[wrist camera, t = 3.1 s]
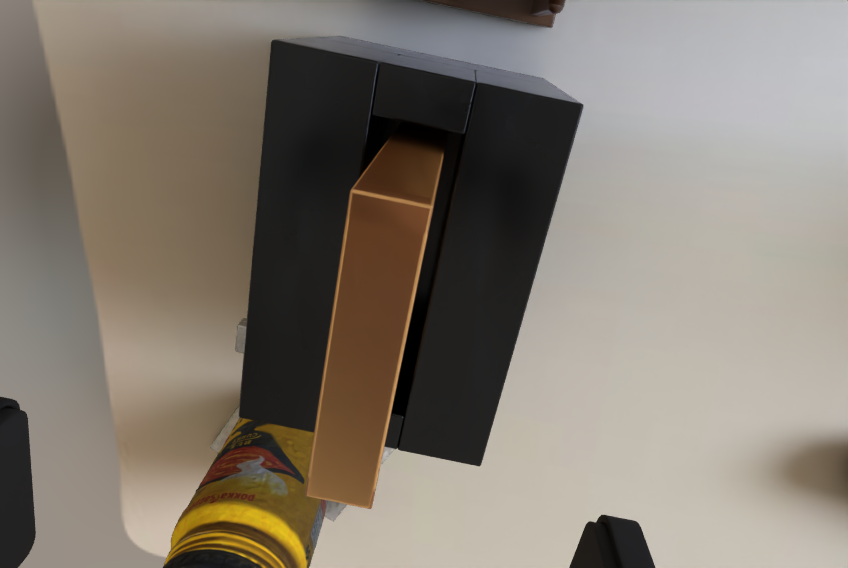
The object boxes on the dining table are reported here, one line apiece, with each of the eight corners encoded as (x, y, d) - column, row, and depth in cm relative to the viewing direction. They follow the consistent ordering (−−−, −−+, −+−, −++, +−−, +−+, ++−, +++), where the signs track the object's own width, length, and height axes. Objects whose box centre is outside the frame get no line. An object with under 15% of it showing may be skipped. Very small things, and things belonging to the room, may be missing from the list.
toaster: (318, 31, 26) (237, 31, 17) (544, 78, 26) (584, 104, 17) (287, 300, 31) (211, 412, 22) (477, 339, 32) (480, 467, 22)
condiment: (273, 356, 33) (173, 523, 22) (403, 437, 34) (372, 632, 23) (210, 445, 35) (93, 634, 24) (334, 517, 37) (277, 727, 26)
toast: (402, 119, 23) (349, 188, 13) (449, 129, 23) (433, 206, 13) (367, 317, 26) (304, 496, 16) (408, 326, 26) (371, 510, 16)
